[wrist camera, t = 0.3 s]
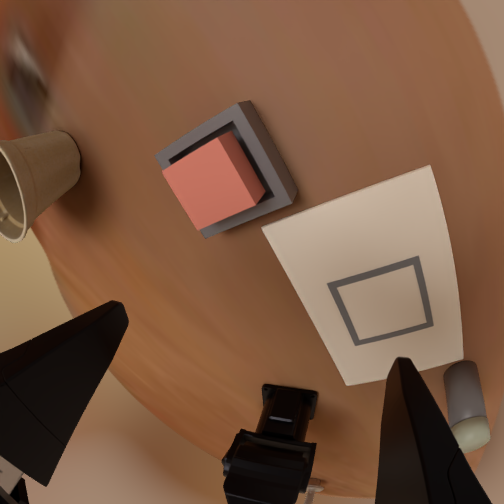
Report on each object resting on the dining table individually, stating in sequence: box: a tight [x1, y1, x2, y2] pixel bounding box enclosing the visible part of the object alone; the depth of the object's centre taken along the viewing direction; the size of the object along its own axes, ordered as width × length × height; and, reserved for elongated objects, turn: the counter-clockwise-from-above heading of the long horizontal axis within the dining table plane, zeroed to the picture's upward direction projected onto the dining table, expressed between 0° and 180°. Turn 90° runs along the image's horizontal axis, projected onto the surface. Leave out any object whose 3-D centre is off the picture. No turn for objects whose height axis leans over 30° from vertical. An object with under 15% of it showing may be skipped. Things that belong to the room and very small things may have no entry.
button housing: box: [154, 100, 298, 239], centre depth 20 cm, size 7×7×2 cm
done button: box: [162, 131, 266, 230], centre depth 19 cm, size 4×4×2 cm
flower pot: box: [0, 131, 81, 243], centre depth 22 cm, size 9×9×9 cm
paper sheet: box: [261, 165, 463, 386], centre depth 23 cm, size 20×13×1 cm, turn 30°
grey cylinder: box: [444, 361, 490, 453], centre depth 21 cm, size 4×4×9 cm
